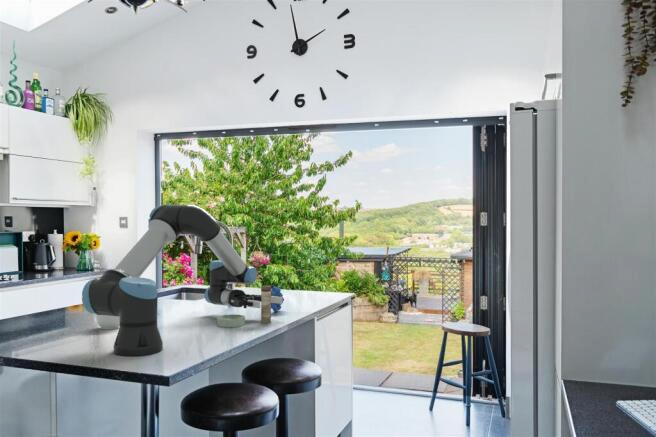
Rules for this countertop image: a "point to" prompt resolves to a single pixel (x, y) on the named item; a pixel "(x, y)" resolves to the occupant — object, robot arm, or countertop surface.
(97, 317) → the lidded jar
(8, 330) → the countertop surface
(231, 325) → the pale green ring
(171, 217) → the robot arm
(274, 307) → the grapes
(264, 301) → the birch dowel
